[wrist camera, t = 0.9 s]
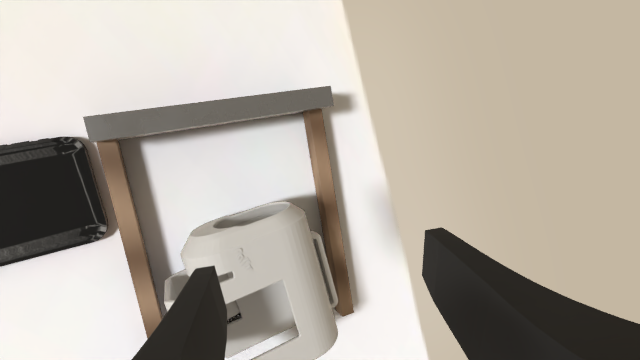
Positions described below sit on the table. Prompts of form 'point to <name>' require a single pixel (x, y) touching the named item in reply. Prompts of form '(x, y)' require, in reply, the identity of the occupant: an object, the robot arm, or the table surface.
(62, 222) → the phone
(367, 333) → the table surface
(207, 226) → the cable organizer
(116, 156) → the rail channel
